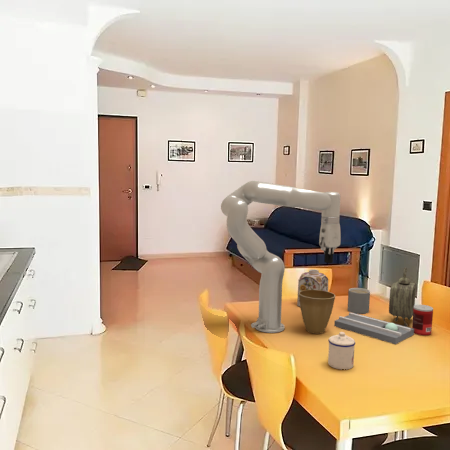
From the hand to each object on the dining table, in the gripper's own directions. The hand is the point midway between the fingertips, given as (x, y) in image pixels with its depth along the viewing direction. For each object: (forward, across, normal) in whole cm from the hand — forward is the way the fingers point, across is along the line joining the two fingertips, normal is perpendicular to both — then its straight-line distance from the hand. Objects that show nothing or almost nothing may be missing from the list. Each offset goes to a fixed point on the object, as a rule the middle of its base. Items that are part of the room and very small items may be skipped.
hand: (328, 262), depth 207 cm
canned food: (+27, +20, -34) cm, 48 cm away
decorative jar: (+27, +17, +19) cm, 38 cm away
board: (+27, +7, -19) cm, 34 cm away
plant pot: (+27, -12, -3) cm, 30 cm away
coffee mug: (+27, +28, +1) cm, 39 cm away
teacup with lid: (+27, -33, -28) cm, 51 cm away
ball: (+25, +8, -27) cm, 37 cm away
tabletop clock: (+27, +26, -22) cm, 44 cm away
